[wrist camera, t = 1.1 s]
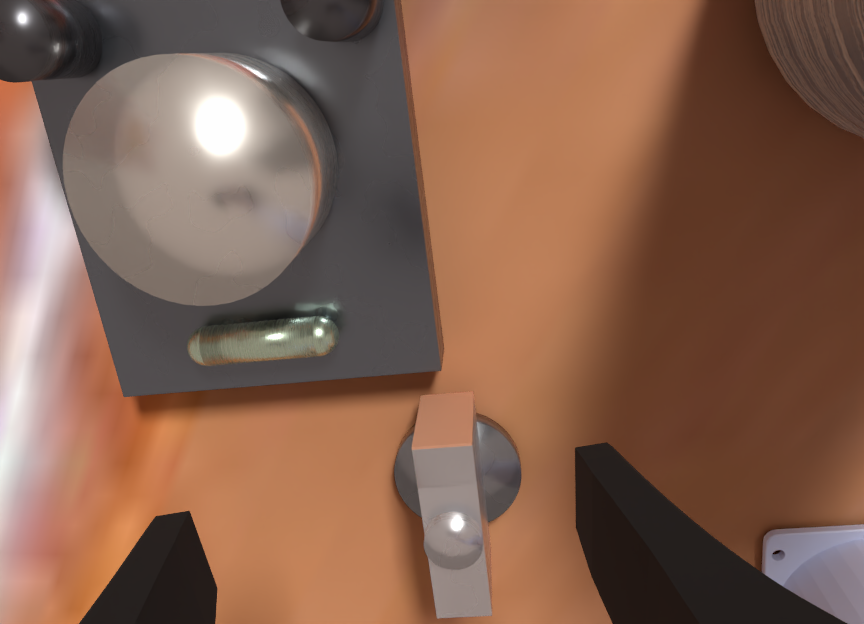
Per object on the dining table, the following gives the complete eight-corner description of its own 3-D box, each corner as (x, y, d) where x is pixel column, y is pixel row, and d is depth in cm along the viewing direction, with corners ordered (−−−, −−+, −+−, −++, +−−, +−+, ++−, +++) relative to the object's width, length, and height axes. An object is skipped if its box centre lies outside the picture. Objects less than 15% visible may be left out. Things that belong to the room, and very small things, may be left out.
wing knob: (526, 534, 30) (535, 624, 25) (408, 541, 31) (394, 630, 26) (512, 379, 28) (518, 447, 23) (384, 390, 28) (364, 458, 24)
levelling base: (444, 349, 28) (434, 425, 22) (147, 374, 29) (66, 452, 23) (393, -54, 23) (365, -86, 18) (42, -3, 24) (-90, -18, 19)
